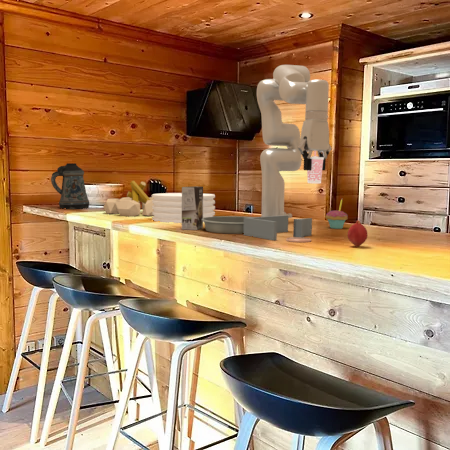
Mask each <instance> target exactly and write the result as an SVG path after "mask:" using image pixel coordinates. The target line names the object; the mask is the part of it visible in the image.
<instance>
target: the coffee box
mask: <svg viewBox="0 0 450 450" xmlns="http://www.w3.org/2000/svg"><path fill="white" fill-rule="evenodd" d="M181 193H182V223H181V230H187V231H188V230H189V231H190V230H191V231H199V230H200V229H203V228H204V222H203V221H202V218H203V194H204V186H182V187H181Z"/></svg>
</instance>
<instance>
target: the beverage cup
mask: <svg viewBox="0 0 450 450" xmlns="http://www.w3.org/2000/svg"><path fill="white" fill-rule="evenodd" d="M310 159H312V168H311V170H306V171H307V172H306V174H307V175H306V176H307V184H322V175H323V170H322V167H323V160H324V157H319V155H318V156H317V151H316V150H315V151H314V156H312V155H311V157H310Z"/></svg>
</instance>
